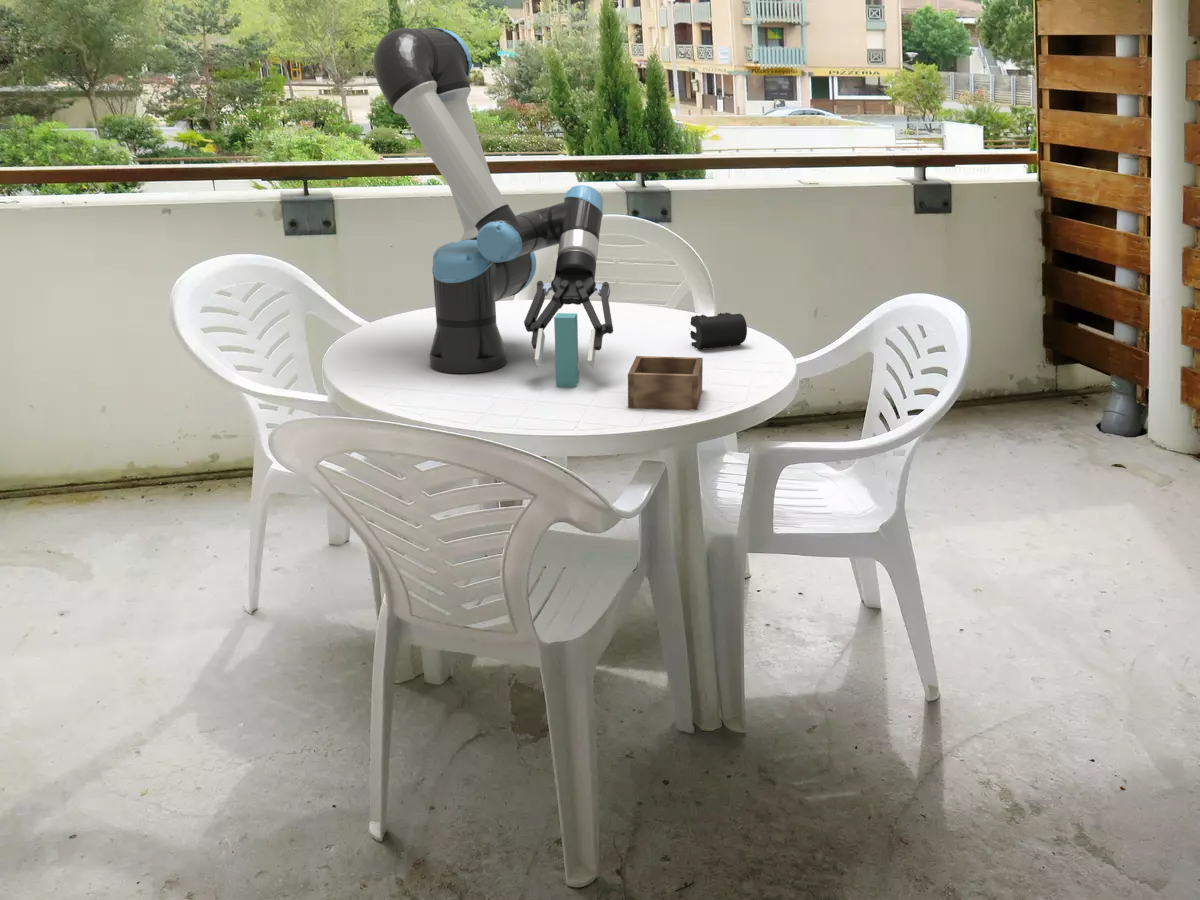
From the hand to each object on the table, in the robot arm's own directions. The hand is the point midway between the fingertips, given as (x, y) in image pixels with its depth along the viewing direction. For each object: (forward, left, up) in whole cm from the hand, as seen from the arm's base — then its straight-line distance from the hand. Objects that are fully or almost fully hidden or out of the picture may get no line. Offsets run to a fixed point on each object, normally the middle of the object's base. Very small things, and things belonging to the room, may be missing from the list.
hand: (564, 363), depth 212 cm
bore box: (+19, -4, -5) cm, 20 cm away
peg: (0, +3, -5) cm, 6 cm away
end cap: (+26, +33, -5) cm, 42 cm away
